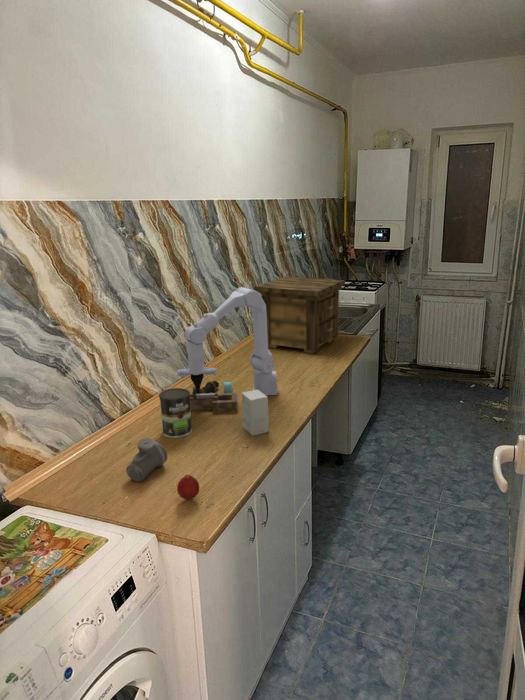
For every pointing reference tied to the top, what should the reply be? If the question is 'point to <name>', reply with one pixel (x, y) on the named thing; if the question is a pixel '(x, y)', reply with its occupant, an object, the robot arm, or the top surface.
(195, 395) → the lock bar
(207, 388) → the bolt
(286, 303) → the crate
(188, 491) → the onion
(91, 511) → the top surface
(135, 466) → the pipe fitting
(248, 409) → the small box
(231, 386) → the dowel
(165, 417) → the coffee can
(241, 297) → the robot arm
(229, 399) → the mount
